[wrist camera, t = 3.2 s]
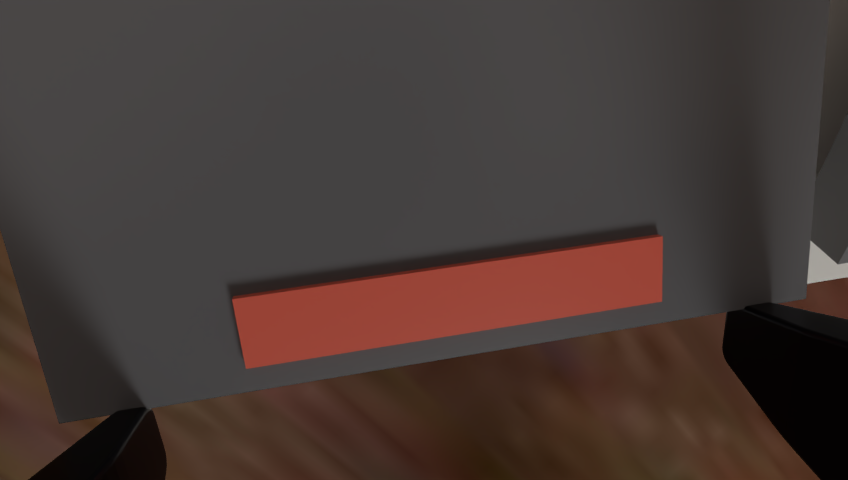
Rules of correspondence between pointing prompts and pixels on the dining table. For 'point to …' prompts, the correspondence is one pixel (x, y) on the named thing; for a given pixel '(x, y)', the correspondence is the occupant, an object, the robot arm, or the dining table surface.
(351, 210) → the outer rocker
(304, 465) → the dining table surface
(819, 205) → the panel
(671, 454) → the dining table surface
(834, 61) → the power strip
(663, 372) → the dining table surface
